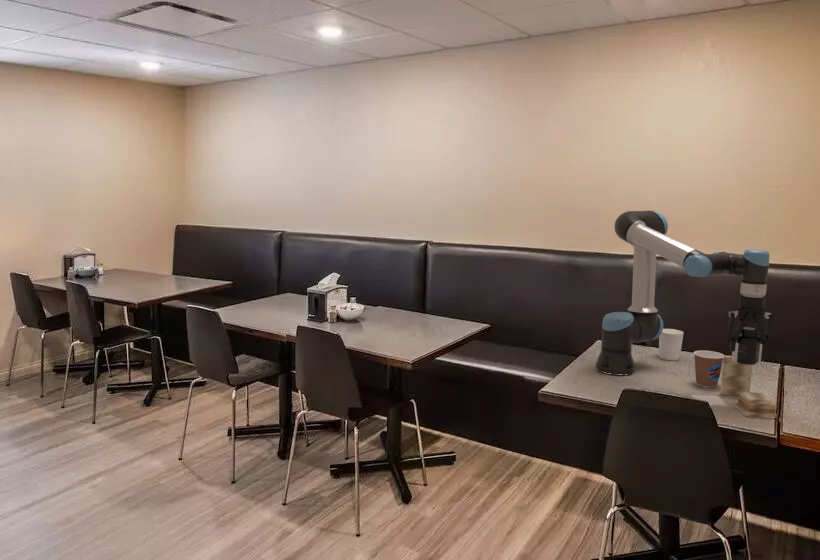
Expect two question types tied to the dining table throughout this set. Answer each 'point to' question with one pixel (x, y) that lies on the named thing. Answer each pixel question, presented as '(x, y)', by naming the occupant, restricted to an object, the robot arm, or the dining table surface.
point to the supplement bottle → (748, 346)
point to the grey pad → (712, 400)
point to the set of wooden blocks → (744, 390)
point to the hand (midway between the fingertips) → (745, 360)
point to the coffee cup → (708, 368)
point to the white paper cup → (670, 344)
